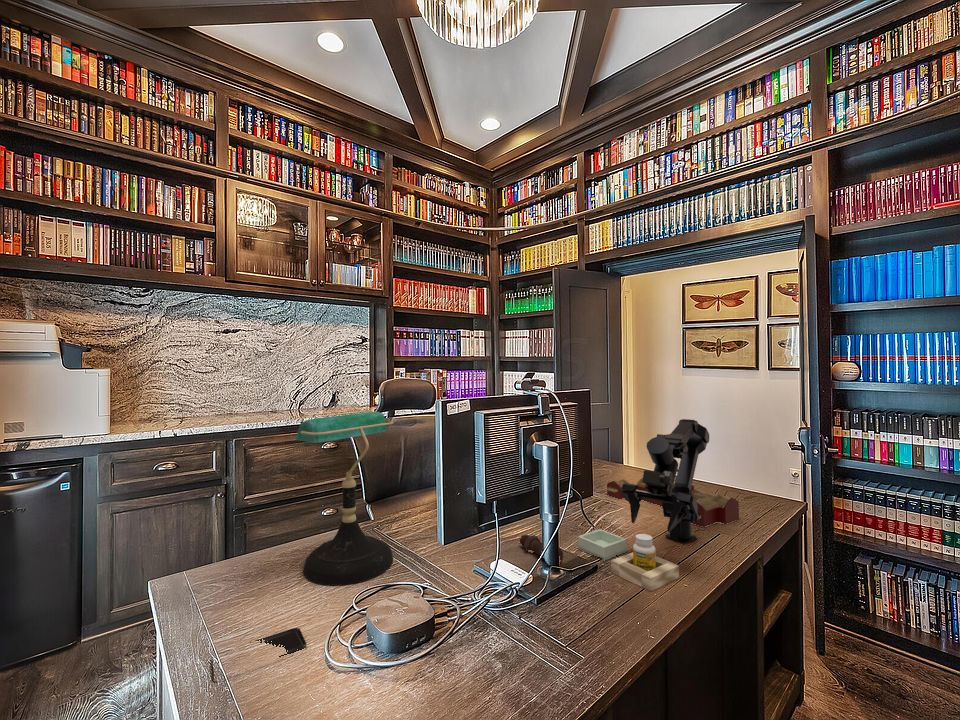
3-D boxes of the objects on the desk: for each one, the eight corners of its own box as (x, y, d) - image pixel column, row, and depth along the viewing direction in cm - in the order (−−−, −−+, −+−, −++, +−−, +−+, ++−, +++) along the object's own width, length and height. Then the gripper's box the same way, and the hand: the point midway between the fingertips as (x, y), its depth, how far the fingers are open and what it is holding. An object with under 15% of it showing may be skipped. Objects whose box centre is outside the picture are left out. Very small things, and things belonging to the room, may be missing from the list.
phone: (307, 646, 82) (213, 679, 73) (307, 652, 81) (213, 686, 73) (298, 626, 88) (211, 654, 80) (298, 631, 88) (211, 660, 80)
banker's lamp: (360, 538, 134) (360, 408, 135) (415, 557, 121) (414, 412, 122) (278, 572, 113) (278, 417, 113) (334, 599, 99) (333, 423, 100)
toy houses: (743, 519, 148) (742, 489, 148) (709, 532, 137) (708, 500, 138) (633, 488, 186) (633, 465, 187) (599, 496, 175) (599, 471, 176)
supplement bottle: (655, 571, 111) (654, 533, 111) (657, 581, 106) (656, 542, 106) (633, 569, 113) (632, 531, 113) (633, 578, 108) (633, 539, 108)
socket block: (639, 560, 117) (639, 549, 117) (679, 577, 108) (678, 565, 108) (611, 572, 111) (611, 560, 111) (651, 591, 101) (650, 578, 101)
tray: (600, 540, 131) (600, 529, 131) (627, 551, 123) (627, 539, 123) (577, 548, 126) (577, 536, 126) (604, 560, 118) (604, 547, 118)
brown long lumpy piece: (526, 552, 128) (558, 571, 115) (513, 546, 126) (544, 565, 113) (533, 532, 130) (566, 549, 117) (521, 526, 128) (553, 543, 115)
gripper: (622, 454, 123) (606, 502, 115) (693, 463, 111) (681, 518, 102) (634, 476, 129) (618, 524, 120) (702, 487, 117) (691, 541, 108)
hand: (650, 526), depth 113 cm, fingers open, 9 cm apart
